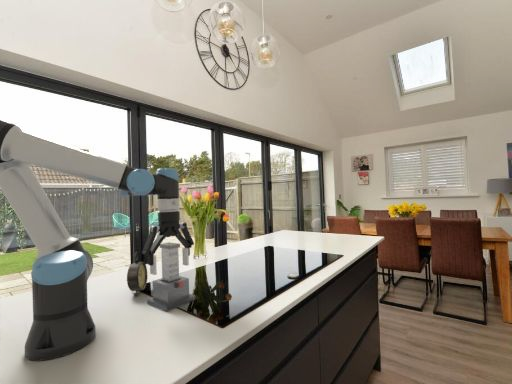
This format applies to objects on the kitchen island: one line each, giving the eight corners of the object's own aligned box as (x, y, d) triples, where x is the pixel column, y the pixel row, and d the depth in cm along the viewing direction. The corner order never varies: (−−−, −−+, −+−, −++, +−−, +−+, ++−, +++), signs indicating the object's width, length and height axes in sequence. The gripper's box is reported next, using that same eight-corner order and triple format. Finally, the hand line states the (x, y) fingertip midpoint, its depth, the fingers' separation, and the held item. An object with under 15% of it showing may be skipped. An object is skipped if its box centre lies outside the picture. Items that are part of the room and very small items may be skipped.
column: (171, 301, 92) (169, 246, 92) (160, 297, 96) (159, 244, 96) (181, 296, 96) (180, 243, 96) (171, 293, 100) (169, 242, 100)
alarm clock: (139, 297, 101) (138, 255, 101) (124, 298, 101) (123, 255, 101) (148, 287, 112) (147, 249, 112) (135, 288, 112) (134, 249, 112)
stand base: (166, 311, 87) (166, 287, 87) (147, 303, 95) (146, 281, 95) (195, 299, 97) (194, 277, 97) (175, 293, 104) (174, 272, 104)
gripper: (141, 213, 84) (143, 280, 84) (201, 208, 104) (203, 262, 104) (129, 213, 88) (131, 276, 88) (189, 208, 108) (191, 260, 108)
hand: (170, 269), depth 96 cm, fingers open, 13 cm apart
